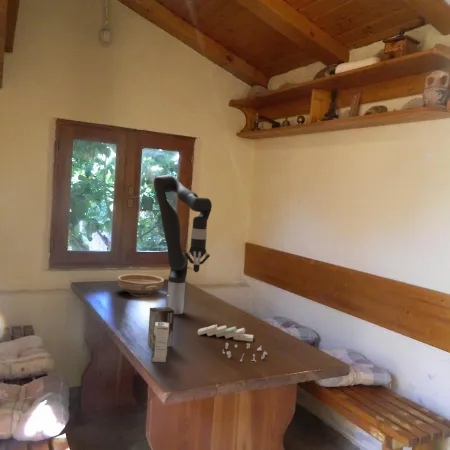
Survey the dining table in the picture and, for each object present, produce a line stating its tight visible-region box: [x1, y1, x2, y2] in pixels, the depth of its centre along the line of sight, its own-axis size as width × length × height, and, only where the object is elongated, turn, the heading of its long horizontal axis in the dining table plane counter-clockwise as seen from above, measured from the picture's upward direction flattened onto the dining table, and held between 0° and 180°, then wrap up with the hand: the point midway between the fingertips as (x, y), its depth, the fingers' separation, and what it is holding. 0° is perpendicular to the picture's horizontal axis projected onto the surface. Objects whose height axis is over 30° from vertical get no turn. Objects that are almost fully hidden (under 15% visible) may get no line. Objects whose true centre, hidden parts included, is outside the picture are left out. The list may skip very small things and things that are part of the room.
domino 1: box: [197, 324, 219, 336], centre depth 229 cm, size 2×5×9 cm
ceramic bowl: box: [117, 273, 165, 297], centre depth 299 cm, size 37×29×10 cm
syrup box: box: [151, 322, 169, 363], centre depth 191 cm, size 6×6×14 cm
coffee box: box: [147, 306, 175, 348], centre depth 208 cm, size 9×6×16 cm
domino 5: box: [232, 333, 254, 342], centre depth 227 cm, size 2×5×9 cm
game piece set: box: [222, 342, 268, 363], centre depth 206 cm, size 19×20×4 cm
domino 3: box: [215, 326, 237, 338], centre depth 227 cm, size 2×5×9 cm
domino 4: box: [224, 327, 246, 339], centre depth 227 cm, size 2×5×9 cm
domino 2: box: [206, 325, 228, 337], centre depth 228 cm, size 2×5×9 cm
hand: (196, 272), depth 241 cm, fingers closed
